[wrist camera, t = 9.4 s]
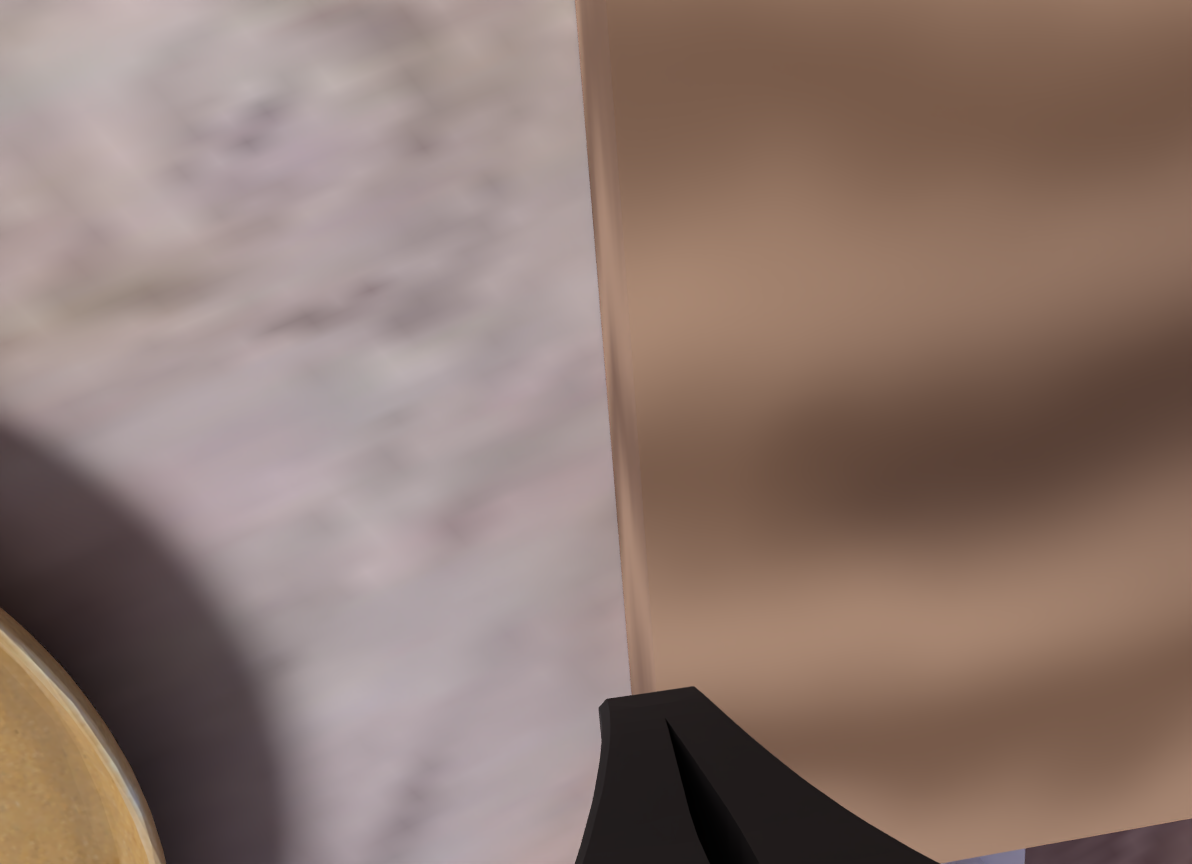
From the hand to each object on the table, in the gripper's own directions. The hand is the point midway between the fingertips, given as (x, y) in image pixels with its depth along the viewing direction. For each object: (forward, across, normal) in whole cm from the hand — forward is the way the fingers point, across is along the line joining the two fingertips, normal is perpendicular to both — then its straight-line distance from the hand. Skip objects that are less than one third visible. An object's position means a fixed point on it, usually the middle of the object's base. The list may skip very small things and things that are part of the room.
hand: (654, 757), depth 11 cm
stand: (+9, -8, -2) cm, 13 cm away
